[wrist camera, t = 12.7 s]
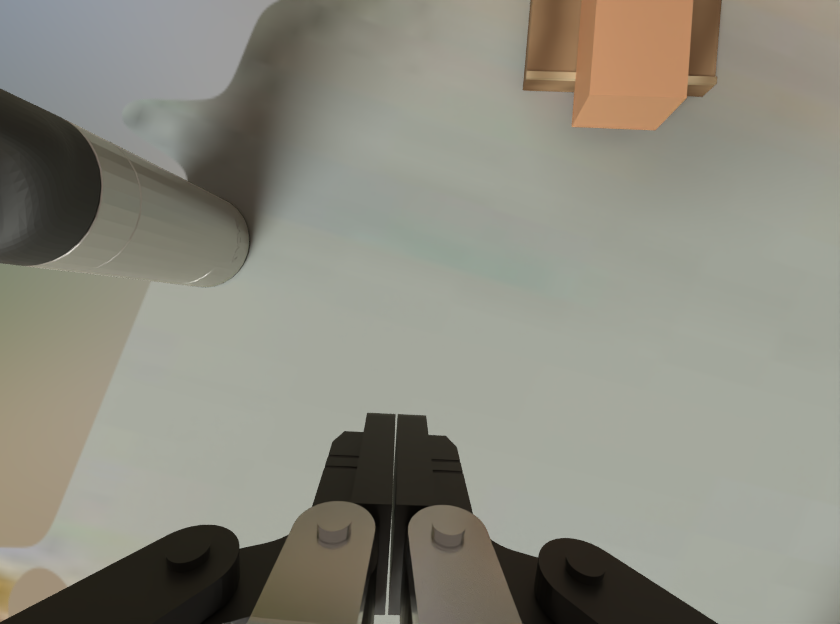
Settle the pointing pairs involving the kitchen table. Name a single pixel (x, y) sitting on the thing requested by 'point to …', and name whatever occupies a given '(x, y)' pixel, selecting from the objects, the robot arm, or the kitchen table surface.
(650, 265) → the kitchen table surface
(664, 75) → the carton
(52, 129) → the robot arm
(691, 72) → the walnut board
